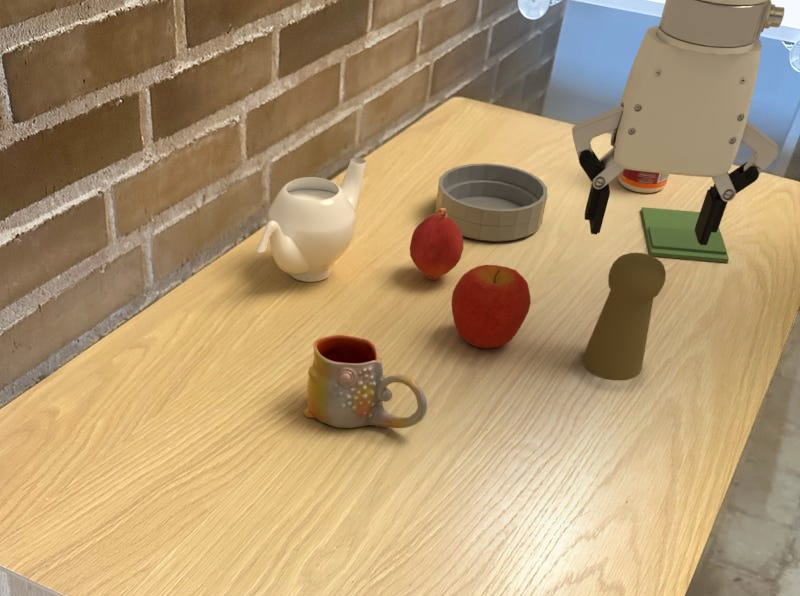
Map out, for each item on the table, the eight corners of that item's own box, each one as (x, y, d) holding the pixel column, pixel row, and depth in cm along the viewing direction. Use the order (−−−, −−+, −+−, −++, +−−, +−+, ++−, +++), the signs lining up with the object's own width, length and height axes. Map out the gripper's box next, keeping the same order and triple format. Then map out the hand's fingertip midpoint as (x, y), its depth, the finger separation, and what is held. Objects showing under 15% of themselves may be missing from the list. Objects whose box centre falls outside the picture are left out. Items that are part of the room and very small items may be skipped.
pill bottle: (614, 172, 130) (637, 82, 121) (661, 175, 129) (687, 85, 121) (620, 192, 125) (643, 101, 117) (668, 196, 125) (695, 104, 117)
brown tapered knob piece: (638, 384, 96) (671, 280, 88) (577, 372, 97) (605, 268, 89) (645, 353, 100) (677, 251, 92) (586, 342, 101) (613, 239, 93)
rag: (713, 217, 122) (715, 210, 121) (727, 263, 114) (730, 256, 113) (640, 210, 122) (642, 204, 121) (650, 256, 114) (652, 249, 114)
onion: (397, 281, 109) (404, 209, 103) (422, 260, 112) (430, 190, 106) (442, 296, 106) (452, 225, 100) (467, 275, 110) (478, 205, 104)
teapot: (222, 295, 105) (218, 210, 98) (323, 227, 117) (326, 146, 110) (295, 322, 102) (296, 236, 95) (392, 250, 113) (399, 168, 106)
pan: (539, 200, 123) (545, 168, 120) (541, 248, 115) (548, 215, 112) (437, 191, 124) (441, 159, 121) (432, 238, 115) (436, 205, 112)
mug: (291, 414, 91) (292, 351, 86) (333, 381, 95) (336, 319, 90) (399, 462, 87) (406, 399, 82) (438, 426, 91) (447, 364, 86)
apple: (498, 315, 104) (511, 244, 98) (536, 353, 100) (551, 281, 94) (434, 328, 102) (443, 257, 96) (469, 367, 97) (481, 295, 92)
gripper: (813, 14, 78) (736, 224, 91) (596, -5, 79) (550, 206, 91) (834, 44, 73) (749, 262, 86) (603, 23, 74) (553, 242, 86)
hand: (646, 233), depth 88 cm, fingers open, 9 cm apart
